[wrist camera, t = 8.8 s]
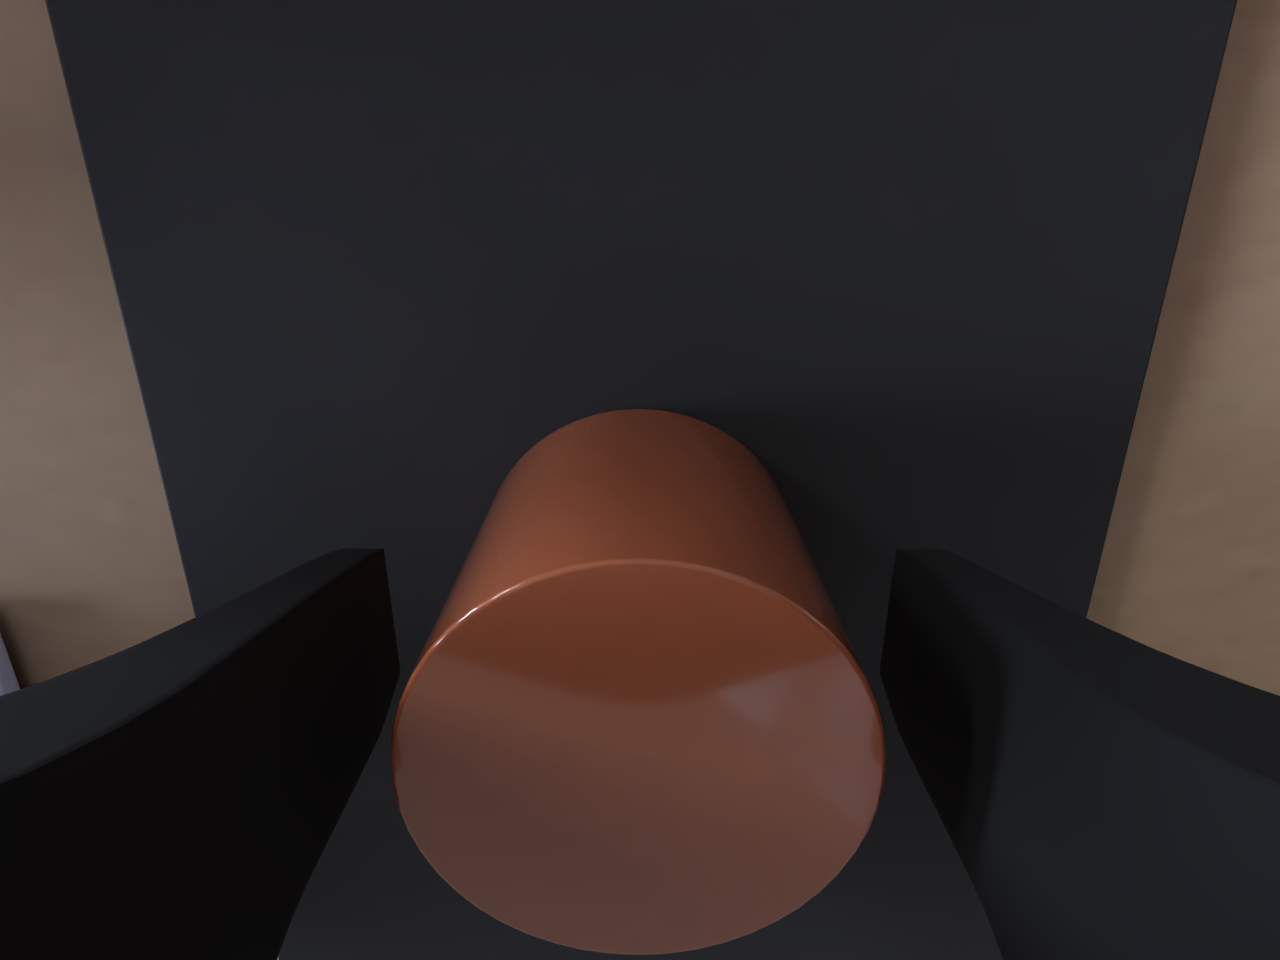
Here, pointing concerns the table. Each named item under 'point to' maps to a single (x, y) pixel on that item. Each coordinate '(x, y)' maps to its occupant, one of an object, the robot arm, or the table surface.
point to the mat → (641, 317)
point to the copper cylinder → (638, 700)
